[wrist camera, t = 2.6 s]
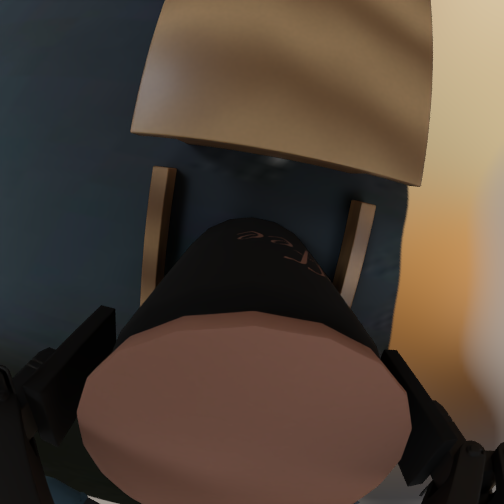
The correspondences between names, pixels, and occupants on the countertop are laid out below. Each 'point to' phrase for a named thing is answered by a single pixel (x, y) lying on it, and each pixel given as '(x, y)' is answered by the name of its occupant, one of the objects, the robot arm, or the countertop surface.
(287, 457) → the coffee jar
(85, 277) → the countertop surface
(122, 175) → the countertop surface
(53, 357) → the robot arm
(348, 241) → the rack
